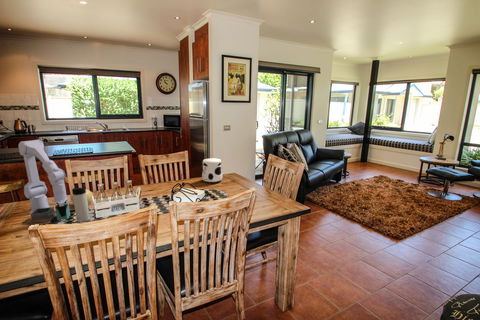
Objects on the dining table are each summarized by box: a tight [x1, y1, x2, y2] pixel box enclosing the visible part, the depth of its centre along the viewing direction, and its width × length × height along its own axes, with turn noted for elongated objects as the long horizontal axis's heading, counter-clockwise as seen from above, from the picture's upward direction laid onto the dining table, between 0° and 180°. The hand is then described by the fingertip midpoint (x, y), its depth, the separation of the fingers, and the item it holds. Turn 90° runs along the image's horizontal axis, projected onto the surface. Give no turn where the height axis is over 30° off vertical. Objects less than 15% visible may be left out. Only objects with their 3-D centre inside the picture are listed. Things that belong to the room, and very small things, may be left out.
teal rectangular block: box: [54, 202, 71, 221], centre depth 146 cm, size 5×5×8 cm
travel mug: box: [71, 186, 91, 224], centre depth 141 cm, size 6×7×20 cm
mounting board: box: [26, 213, 57, 225], centre depth 147 cm, size 13×11×1 cm
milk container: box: [201, 157, 224, 184], centre depth 214 cm, size 17×17×18 cm
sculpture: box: [70, 188, 94, 205], centre depth 165 cm, size 12×12×11 cm
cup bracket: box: [28, 206, 56, 221], centre depth 146 cm, size 10×10×3 cm
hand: (63, 213), depth 146 cm, fingers open, 7 cm apart
